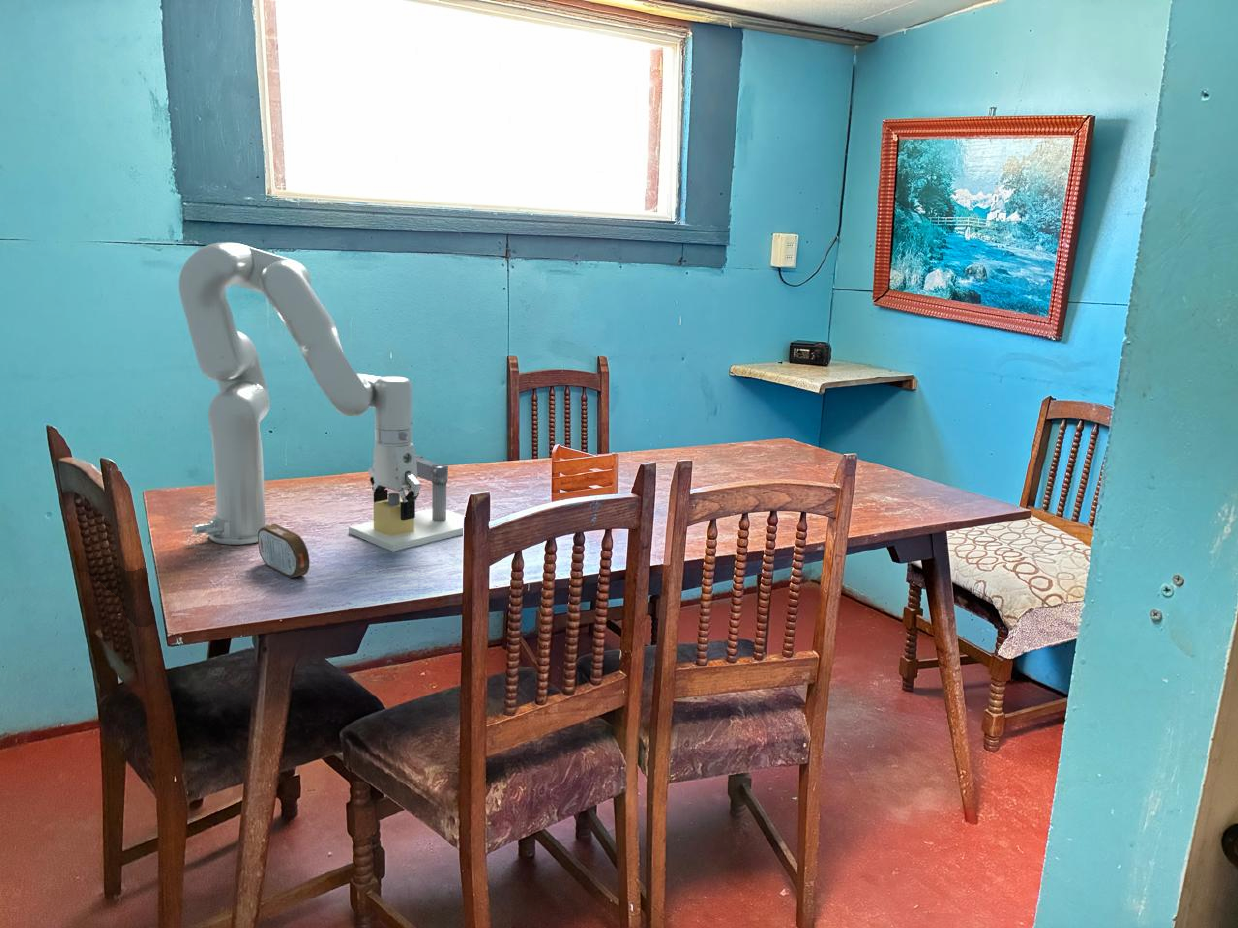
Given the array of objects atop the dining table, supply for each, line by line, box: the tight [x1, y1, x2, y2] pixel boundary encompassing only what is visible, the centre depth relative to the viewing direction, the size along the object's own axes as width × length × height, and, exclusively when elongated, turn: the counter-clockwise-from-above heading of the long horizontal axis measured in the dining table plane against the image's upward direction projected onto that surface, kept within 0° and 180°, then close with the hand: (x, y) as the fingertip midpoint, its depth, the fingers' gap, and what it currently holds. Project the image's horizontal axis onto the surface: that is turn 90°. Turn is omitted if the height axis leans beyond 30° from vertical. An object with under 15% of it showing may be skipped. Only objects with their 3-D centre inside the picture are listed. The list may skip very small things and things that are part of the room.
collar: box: [373, 498, 414, 536], centre depth 201 cm, size 6×6×6 cm
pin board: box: [348, 482, 464, 553], centre depth 205 cm, size 24×16×10 cm, turn 138°
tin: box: [257, 523, 311, 579], centre depth 178 cm, size 15×3×8 cm, turn 48°
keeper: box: [415, 453, 449, 484], centre depth 212 cm, size 16×5×4 cm, turn 48°
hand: (394, 513), depth 201 cm, fingers open, 9 cm apart
